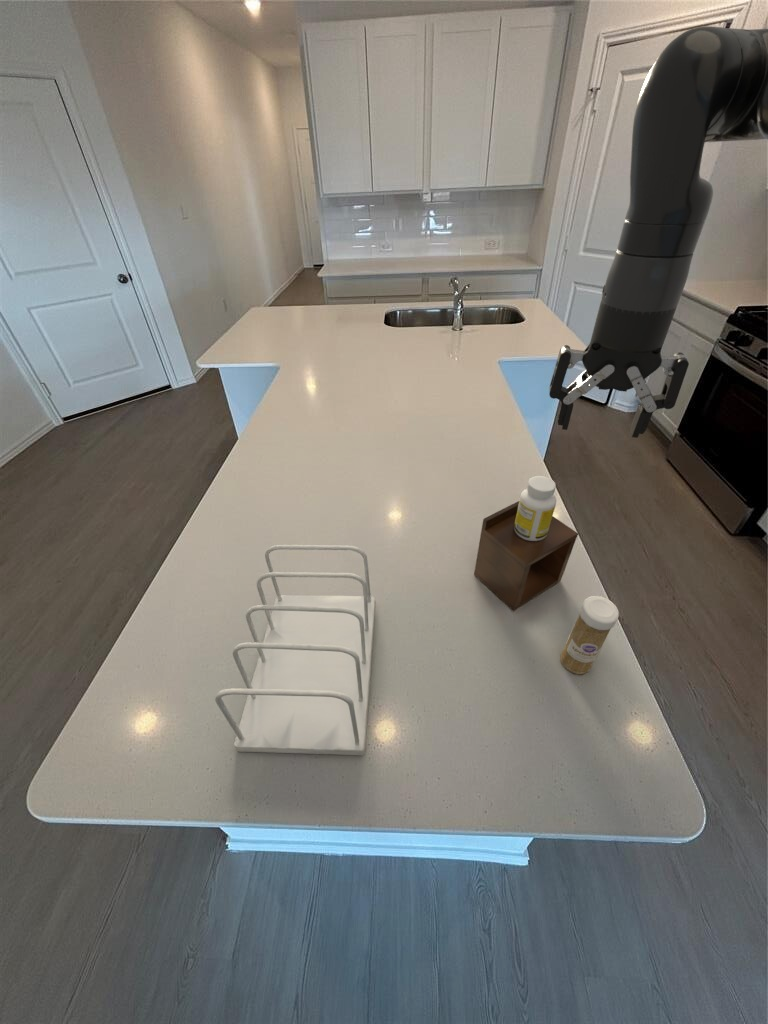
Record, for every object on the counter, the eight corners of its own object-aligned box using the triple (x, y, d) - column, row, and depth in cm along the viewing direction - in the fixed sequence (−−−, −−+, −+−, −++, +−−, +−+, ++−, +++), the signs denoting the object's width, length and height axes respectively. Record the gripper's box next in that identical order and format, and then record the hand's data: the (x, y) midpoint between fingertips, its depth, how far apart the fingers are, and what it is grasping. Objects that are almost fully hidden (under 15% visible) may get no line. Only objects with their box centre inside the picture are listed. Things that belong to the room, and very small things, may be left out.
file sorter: (278, 601, 78) (259, 538, 68) (375, 603, 77) (372, 539, 67) (235, 752, 59) (201, 695, 49) (365, 756, 58) (357, 700, 48)
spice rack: (560, 581, 80) (581, 524, 71) (513, 611, 75) (529, 554, 66) (519, 548, 86) (534, 492, 77) (473, 574, 81) (483, 518, 72)
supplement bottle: (546, 522, 74) (560, 475, 68) (547, 544, 70) (562, 496, 64) (513, 518, 75) (523, 471, 69) (513, 539, 71) (524, 492, 65)
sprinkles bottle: (565, 676, 66) (591, 622, 57) (555, 649, 69) (578, 595, 61) (596, 674, 66) (626, 621, 57) (584, 648, 69) (611, 593, 61)
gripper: (570, 305, 47) (541, 438, 57) (723, 311, 43) (662, 452, 54) (569, 288, 52) (542, 412, 63) (705, 292, 49) (653, 423, 59)
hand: (598, 430), depth 58 cm, fingers open, 8 cm apart
